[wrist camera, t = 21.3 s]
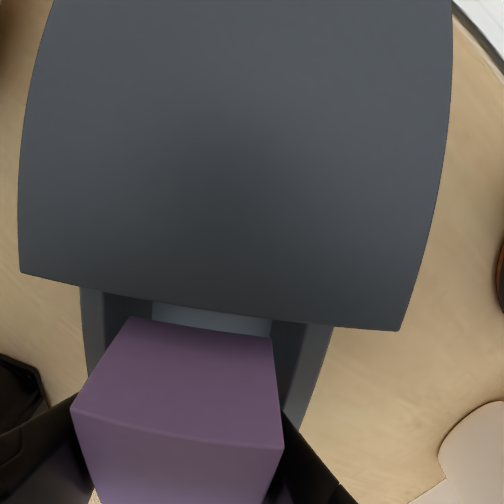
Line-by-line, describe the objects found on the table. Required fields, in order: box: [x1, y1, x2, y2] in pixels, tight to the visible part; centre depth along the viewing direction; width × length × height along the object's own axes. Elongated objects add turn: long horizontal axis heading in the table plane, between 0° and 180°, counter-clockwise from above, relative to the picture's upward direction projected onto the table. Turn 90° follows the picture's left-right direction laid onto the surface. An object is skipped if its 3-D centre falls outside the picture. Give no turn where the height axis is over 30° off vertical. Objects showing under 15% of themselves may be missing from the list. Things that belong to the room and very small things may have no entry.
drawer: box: [80, 287, 334, 431], centre depth 12 cm, size 16×8×7 cm, turn 171°
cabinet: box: [17, 0, 453, 332], centre depth 9 cm, size 13×10×9 cm
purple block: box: [70, 316, 284, 504], centre depth 7 cm, size 4×4×4 cm
